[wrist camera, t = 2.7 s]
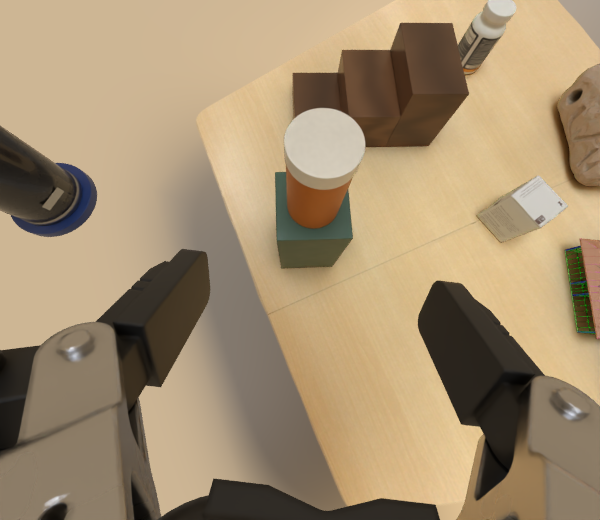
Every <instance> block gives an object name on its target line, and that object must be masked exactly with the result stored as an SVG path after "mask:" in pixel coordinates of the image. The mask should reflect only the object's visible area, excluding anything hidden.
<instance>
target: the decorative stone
mask: <svg viewBox="0 0 600 520" xmlns="http://www.w3.org/2000/svg"><path fill="white" fill-rule="evenodd" d="M557 108H558V111H559V113H560V117H561V122H562V123H563V126H564V131H565V134H566V139H567V141H568V144H569V151H570V158H569V160H570V167H571V171H572V172H573V173H574V177H575V179H576V180H577V181H578V182H579V183H581V184H583V185H586V186H600V64H597V65H595V66H593V67H591V68H589V69H587V70H586V71H584V72H583V73H582V74H581V75H580V76H579V77H578V78H577V80H576V81H575V82H574V83H573V85H572V86H571V87H570V88H568V89H567V90H566V91H565V92H564V93H563V95H562V96H561V98H560V99H559V101H558V105H557Z"/></svg>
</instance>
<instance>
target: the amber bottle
mask: <svg viewBox="0 0 600 520" xmlns="http://www.w3.org/2000/svg"><path fill="white" fill-rule="evenodd" d="M364 153H365V138H364V135H363V132H362V130H361V128H360V127H359V125H358V124H357V123H356V122H355V121H354V120H353V119H352V118H351V117H350V116H348V115H347V114H345V113H343V112H341V111H338V110H335V109H330V108H316V109H311V110H308V111H305V112H303V113H301V114H300V115H298V116H297V117H296V118H294V119H293V121H292V122H291V123H290V124H289V126H288V128H287V130H286V133H285V137H284V156H285V163H286V183H287V208H288V212H289V214H290V216H291V217H292V219H293V220H294V221H295V222H296V223H298V224H299V225H301V226H303V227H306V228H313V229H315V228H321V227H324V226H326V225H328V224H329V223H331V222H332V221H333V220H334V219H335V217H336V215H337V213H338V211H339V208H340V206H341V204H342V201H343V199H344V197H345V194H346V192H347V190H348V187H349V185H350V183H351V180H352V178H353V176H354V175H355V173H356V172H357V170H358V167H359V165H360V163H361V161H362V158H363V156H364Z"/></svg>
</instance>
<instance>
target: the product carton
mask: <svg viewBox="0 0 600 520" xmlns="http://www.w3.org/2000/svg"><path fill="white" fill-rule="evenodd" d="M567 207H568V205H567V204H566V203H565V202H564V201H563V200H562V199H561V198H560V197H559V196H558V195H557V194H556V193H555V192H554V191H553V190H552V189H551V187H550V186H549V185H548V184H547V183H546V182H545V181H544V180H543V179H542V178H541V177H540V176H536V177H535V178H533V179H531V180H529V181H528V182H526V183H524V184H523V185H521V186H519V187H517V188H516V189H514V190H512V191H510V192H509V193H507V194H505V195H504V196H502V197H500V198H499V199H498V200H497V201H496V202H494V203H493V204H492V205H490V206H489V207H488V208H486V209H485V210H483V211H482V212H480V213H479V214H477V217H478V218H479V219H480V220H481V221H482V222H483V223H484V225H485V226H486V227H487V228H488V229H489V230H490V231H491V232H492V233H493V234H494V236H495V237H496V238H497V239H498V240H499V241H500V242H501V243H502V242H504V241H507V240H509V239H512V238H515V237H518V236H520V235H523V234H526V233H528V232H531V231H534V230H536V229H539V228H541V227H543V226H544V225H545V224H547V223H548V222H549V221H551V220H552V219H554V218H555V217H556V216H557V215H558V214H560V213H561V212H562V211H563V210H565V209H566V208H567Z"/></svg>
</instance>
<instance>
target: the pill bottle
mask: <svg viewBox="0 0 600 520" xmlns="http://www.w3.org/2000/svg"><path fill="white" fill-rule="evenodd" d="M515 11H516V5H515V3H514V2H513V1H512V0H488V1H487V3H486V5H485V6H484V8H483V11H482V12H480V13H479V14H477V15H476V16H475V18H474V19H473V21H472V23H471V24H470V26H469V28H468V29H467V31H466V33H465V34H464V36H463V38H462V39H461V41H460V43H459V44H458V49H459V54H460V58H461V62H462V66H463V71H464V74H471V73H473V72H475V71H476V70H477V69H478V68H479V67H480V65H481V64H482V62H483V61H484V60H485V58H486V57H487V55H488V54H489V53H490V51H491V50H492V49H493V47H494V46H495V44H496V43H497V42H498V40H499V39H500V38H501V36H502V35H503V33H504V31H505V29H506V23H507V22H508V21H509V20H510V19H511V17H512V16H513V14H514V13H515Z"/></svg>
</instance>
